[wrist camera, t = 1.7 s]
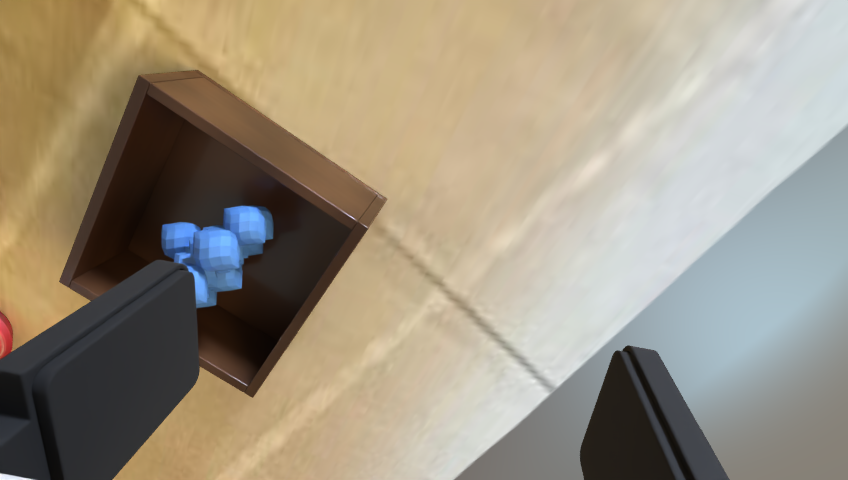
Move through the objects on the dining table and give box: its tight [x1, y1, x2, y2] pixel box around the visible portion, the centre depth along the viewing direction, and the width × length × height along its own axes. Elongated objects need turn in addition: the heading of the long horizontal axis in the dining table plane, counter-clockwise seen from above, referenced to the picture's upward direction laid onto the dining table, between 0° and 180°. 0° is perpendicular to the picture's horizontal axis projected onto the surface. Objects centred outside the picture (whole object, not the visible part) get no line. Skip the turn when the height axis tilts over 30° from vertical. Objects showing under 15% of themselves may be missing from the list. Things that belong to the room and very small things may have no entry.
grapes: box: [161, 205, 274, 309], centre depth 33 cm, size 12×7×12 cm, turn 137°
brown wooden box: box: [59, 70, 387, 398], centre depth 36 cm, size 17×18×6 cm
